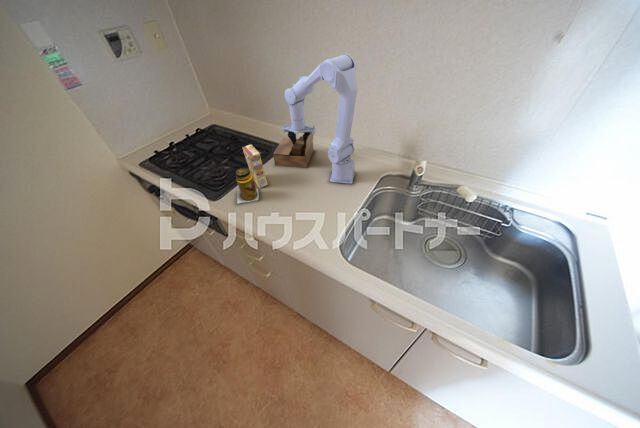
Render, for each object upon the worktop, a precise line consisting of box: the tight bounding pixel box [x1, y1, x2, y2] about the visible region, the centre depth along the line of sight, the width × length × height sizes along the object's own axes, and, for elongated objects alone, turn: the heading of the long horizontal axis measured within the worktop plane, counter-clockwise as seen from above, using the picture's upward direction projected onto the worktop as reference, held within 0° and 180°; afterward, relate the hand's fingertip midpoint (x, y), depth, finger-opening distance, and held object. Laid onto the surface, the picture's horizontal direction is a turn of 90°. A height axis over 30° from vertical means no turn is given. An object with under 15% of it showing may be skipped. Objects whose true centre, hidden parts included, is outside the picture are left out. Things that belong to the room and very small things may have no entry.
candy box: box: [242, 143, 269, 189], centre depth 97 cm, size 9×4×15 cm, turn 33°
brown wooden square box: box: [272, 137, 314, 169], centre depth 113 cm, size 15×15×6 cm
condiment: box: [234, 167, 260, 204], centre depth 91 cm, size 7×8×12 cm
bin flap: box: [305, 125, 316, 156], centre depth 106 cm, size 7×15×1 cm
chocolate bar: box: [292, 135, 305, 157], centre depth 110 cm, size 4×11×4 cm, turn 162°
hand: (300, 147), depth 110 cm, fingers closed on chocolate bar, 4 cm apart
